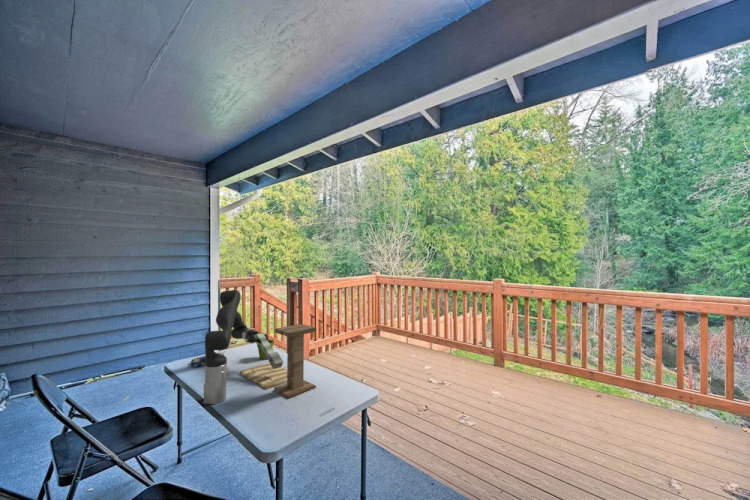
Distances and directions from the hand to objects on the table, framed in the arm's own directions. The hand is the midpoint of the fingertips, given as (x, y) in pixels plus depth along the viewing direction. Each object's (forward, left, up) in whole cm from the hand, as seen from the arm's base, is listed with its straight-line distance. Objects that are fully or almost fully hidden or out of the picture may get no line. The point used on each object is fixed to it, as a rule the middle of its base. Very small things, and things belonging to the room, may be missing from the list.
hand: (264, 340), depth 180 cm
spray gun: (+12, +45, -20) cm, 50 cm away
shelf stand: (-19, -27, -19) cm, 38 cm away
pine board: (-4, -5, -19) cm, 20 cm away
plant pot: (+25, +12, -19) cm, 34 cm away
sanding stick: (-2, -4, -6) cm, 7 cm away
